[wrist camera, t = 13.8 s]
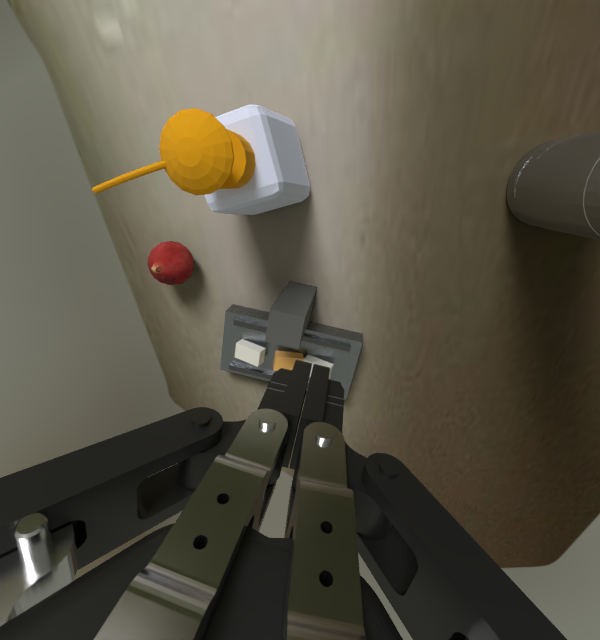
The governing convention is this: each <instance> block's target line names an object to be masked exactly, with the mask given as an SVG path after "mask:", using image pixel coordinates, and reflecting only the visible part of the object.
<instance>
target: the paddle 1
mask: <svg viewBox="0 0 600 640" xmlns="http://www.w3.org/2000/svg"><path fill="white" fill-rule="evenodd" d="M265 350H266V348H264V347H262V346H259V345H256V344H254V343H251V342H249V341H246V340H244V339H242V340H240V341H238V342H237V343H236V348H235V358H238V359H240V360H242V361H245V362H247V363H250V364H252V365H254V366H257V367H258V366H260V365H261V364H262V363H263V362H264V356H265Z"/></svg>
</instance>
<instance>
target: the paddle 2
mask: <svg viewBox="0 0 600 640" xmlns="http://www.w3.org/2000/svg"><path fill="white" fill-rule="evenodd" d="M304 362H309V363H312V367H311V372H310V376H309V377H311V373H312V369H313V365H314V364H317V365H321V366H326V367H330V373H329V379H330V377H331V373H332V369H333V365H334V364H332V363H329V362H327V361H324V360H321V359H319V358H316V357H313V356H311V355H307V356H306V357H305V358H304Z"/></svg>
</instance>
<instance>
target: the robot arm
mask: <svg viewBox="0 0 600 640" xmlns="http://www.w3.org/2000/svg"><path fill="white" fill-rule="evenodd" d="M507 202H508V206H509V208H510V210H511V212H512V213H513V215H514V216H515V217H516V218H517V219H519V220H520V221H521V222H523V223H526V224H528V225H532V226H536V227H541V228H545V229H549V230H554V231H559V232H564V233H568V234H573V235H578V236H582V237H587V238H592V239H597V240H600V130H598V131H594V132H590V133H585V134H581V135H577V136H572V137H568V138H564V139H560V140H556V141H552V142H548V143H545V144H543V145H541V146H539V147H537V148H535V149H534V150H532V151H531V152H529V153H528V154H527V155H526V156H525V157H524V158H523V159H522V160H521V161H520V162H519V163H518V165H517V166H516V167H515V169H514V171H513V172H512V174H511V176H510V179H509V182H508V186H507ZM311 367H312V363H309V362H304V361H300V360H296V361H295V363H294V366H293V369H292V370H288V369H284V368H280V369H279V370H278V371H276V372H275V373H274V374H273V376H272V378H271V380H270V383H269V385H268V387H267V389H266V392H265V394H264V396H263V398H262V401H261V403H260V405H259V407H258V410H256V411H254V412H252V413H251V414H250V415H249V416H248V418H247V419H246V420H243V421H237V422H223V419H222V416H221V415H220V414H219V413H218V412H217V411H215V410H213V409H210V408H205V407H199V408H193V409H190V410H187V411H185V412H182V413H179V414H176V415H174V416H171V417H168V418H165V419H163V420H160V421H157V422H154V423H151V424H149V425H146V426H143V427H140V428H138V429H135V430H132V431H129V432H127V433H124V434H121V435H118V436H115V437H113V438H110V439H107V440H105V441H102V442H99V443H96V444H93V445H90V446H88V447H85V448H82V449H79V450H77V451H74V452H71V453H68V454H66V455H63V456H60V457H57V458H54V459H52V460H49V461H46V462H44V463H41V464H38V465H35V466H33V467H30V468H27V469H24V470H22V471H19V472H16V473H13V474H11V475H7V476H5V477H2V478H0V640H403V639H402V637H401V636H400V634H399V632H398V630H397V629H396V627H395V625H394V624H393V622H392V620H391V618H390V617H389V615H388V613H387V611H386V610H385V608H384V606H383V604H382V603H381V601H380V599H379V598H378V596H377V595H376V593H375V592H374V591H373V589H372V588H371V587H370V585H369V584H368V583H367V582H366V581H365V580H364V578H362V577H361V576H360V572H359V559H358V552H359V554H360V556H361V557H362V559H363V560H364V562H365V563H366V565H367V567H368V568H369V570H370V571H371V573H372V575H373V576H374V578H375V579H376V581H377V583H378V584H379V586H380V587H381V589H382V591H383V592H384V594H385V595H386V597H387V599H388V600H389V602H390V603H391V605H392V607H393V608H394V610H395V611H396V613H397V614H398V616H399V618H400V619H401V621H402V623H403V624H404V626H405V627H406V629H407V630H408V632H409V634H410V635H411V637H412V639H413V640H567V639H566V638H565V637H564V636H563V635H562V633H561V632H560V631H559V630H558V629H557V628H556V627H555V626H554V625H553V624H552V623H551V622H550V621H549V620H548V619H547V617H546V616H545V615H544V614H543V613H542V612H541V611H540V610H539V609H538V608H537V607H536V606H535V605H534V603H533V602H532V601H531V600H530V599H529V598H528V597H527V596H526V595H525V594H524V593H523V592H522V591H521V590H520V588H519V587H518V586H517V585H516V584H515V583H514V582H513V581H512V580H511V579H510V578H509V577H508V576H507V574H505V572H504V571H503V570H502V569H501V568H500V567H499V566H498V565H497V564H496V563H495V562H494V561H493V559H492V558H491V557H490V556H489V555H488V554H487V553H486V552H485V551H484V550H483V549H482V548H481V547H480V546H479V544H478V543H477V542H476V541H475V540H474V539H473V538H472V537H471V536H470V535H469V534H468V533H467V532H466V531H465V529H464V528H463V527H462V526H461V525H460V524H459V523H458V522H457V521H456V520H455V519H454V518H453V517H452V516H451V514H450V513H449V512H448V511H447V510H446V509H445V508H444V507H443V506H442V505H441V504H440V503H439V502H438V501H437V499H436V498H435V497H434V496H433V495H432V494H431V493H430V492H429V491H428V490H427V489H426V488H425V487H424V486H423V484H422V483H421V482H420V481H419V480H418V479H417V478H416V477H415V476H414V475H413V474H412V473H411V472H410V470H409V469H408V468H407V467H406V466H405V465H404V464H403V463H402V462H401V461H399V460H398V459H397V458H395V457H393V456H391V455H388V454H384V453H375V454H372V455H370V456H369V457H368V458H366V457H364V456H362V455H360V454H358V453H357V452H355V451H354V450H352V449H351V448H350V447H349V446H348V445H347V444H346V442H345V440H344V436H343V434H342V424H343V406H344V388H343V387H342V385H341V383H340V382H338V381H334V380H330V379H329V373H330V367H326V366H321V365H317V364H314V365H313V369H312V373H311V377H310V381H309V376H310V372H311ZM308 381H309V386H308V390H307V385H308ZM306 390H307V394H306ZM305 394H306V398H305ZM304 399H305V402H304ZM303 403H304V406H303ZM302 407H303V410H302ZM301 411H302V415H301ZM300 416H301V419H300ZM299 420H300V423H299ZM298 424H299V428H298ZM297 428H298V432H297ZM296 432H297V437H296V441H295V446H294V450H293V455H292V459H291V464H290V468H291V469H295V471H294V476H293V481H292V485H291V489H290V496H289V504H288V512H287V519H286V527H285V535H284V538H269V537H266V536H264V535H263V534H261V533H259V530H260V527H261V524H262V522H263V519H264V516H265V513H266V511H267V508H268V505H269V503H270V500H271V497H272V494H273V492H274V489H275V486H276V482H277V479H278V478H279V476H280V472H281V469H282V466H283V467H287V468H288V465H289V461H290V456H291V452H292V448H293V444H294V440H295V436H296ZM176 463H177V464H176ZM174 464H175V465H174ZM172 465H173V466H172ZM170 466H171V467H170ZM168 467H169V468H168ZM166 468H167V469H166ZM163 469H165V470H163ZM161 470H163V471H161ZM159 471H160V472H159ZM157 472H158V473H157ZM155 473H156V474H155ZM153 474H154V475H153ZM151 475H152V476H151ZM149 476H150V477H149ZM147 477H148V478H147ZM180 511H182V512H181V514H180V515H179V517H178V518H177V520H176V522H175V523H174V524H171V525H168V526H165V527H163V528H161V529H158V530H156V531H154V532H153V533H151V534H149V535H147V536H146V537H144V538H143V539H141V540H139V541H138V542H136V543H134V544H133V545H131V546H129V547H128V548H126V549H125V550H123V551H121V552H120V553H118V554H116V555H115V556H113V557H112V558H110V559H109V560H107V561H105V562H104V563H102V564H100V565H99V566H97V567H95V568H94V569H92V570H91V571H89V572H87V573H86V574H84V575H82V576H81V577H79V578H78V579H76V580H74V581H73V579H74V577H75V575H76V573H77V570H78V569H80V568H82V567H84V566H86V565H88V564H89V563H91V562H93V561H95V560H96V559H98V558H100V557H101V556H103V555H105V554H107V553H109V552H110V551H112V550H114V549H115V548H117V547H119V546H121V545H122V544H124V543H126V542H128V541H129V540H131V539H133V538H135V537H136V536H138V535H140V534H142V533H143V532H145V531H147V530H149V529H151V528H152V527H154V526H156V525H158V524H159V523H161V522H163V521H165V520H166V519H168V518H170V517H172V516H173V515H175V514H177V513H179V512H180ZM72 581H73V582H72Z"/></svg>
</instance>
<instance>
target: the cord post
mask: <svg viewBox="0 0 600 640" xmlns="http://www.w3.org/2000/svg"><path fill="white" fill-rule="evenodd" d="M316 289H317V287H314V286H309V285H305V284H300V283H296V282H291V281H290V282H289V283H288V284H287V286H286V287H285V289H284V290H283V291H282V293H281V294H280V296H279V297H278V299H277V300H276V301H275V303H274V304H273V306H272V307H271V309H270V312H269V318H268V325H267V331H266V338H265V342H270V343H274V344H278V345H282V346H287V347H291V348H295V349H299V347H300V344H301V341H302V339H303V336H304V333H305V330H306V327H307V324H308V321H309V318H310V316H311V313H312V308H313V303H314V298H315V293H316Z"/></svg>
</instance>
